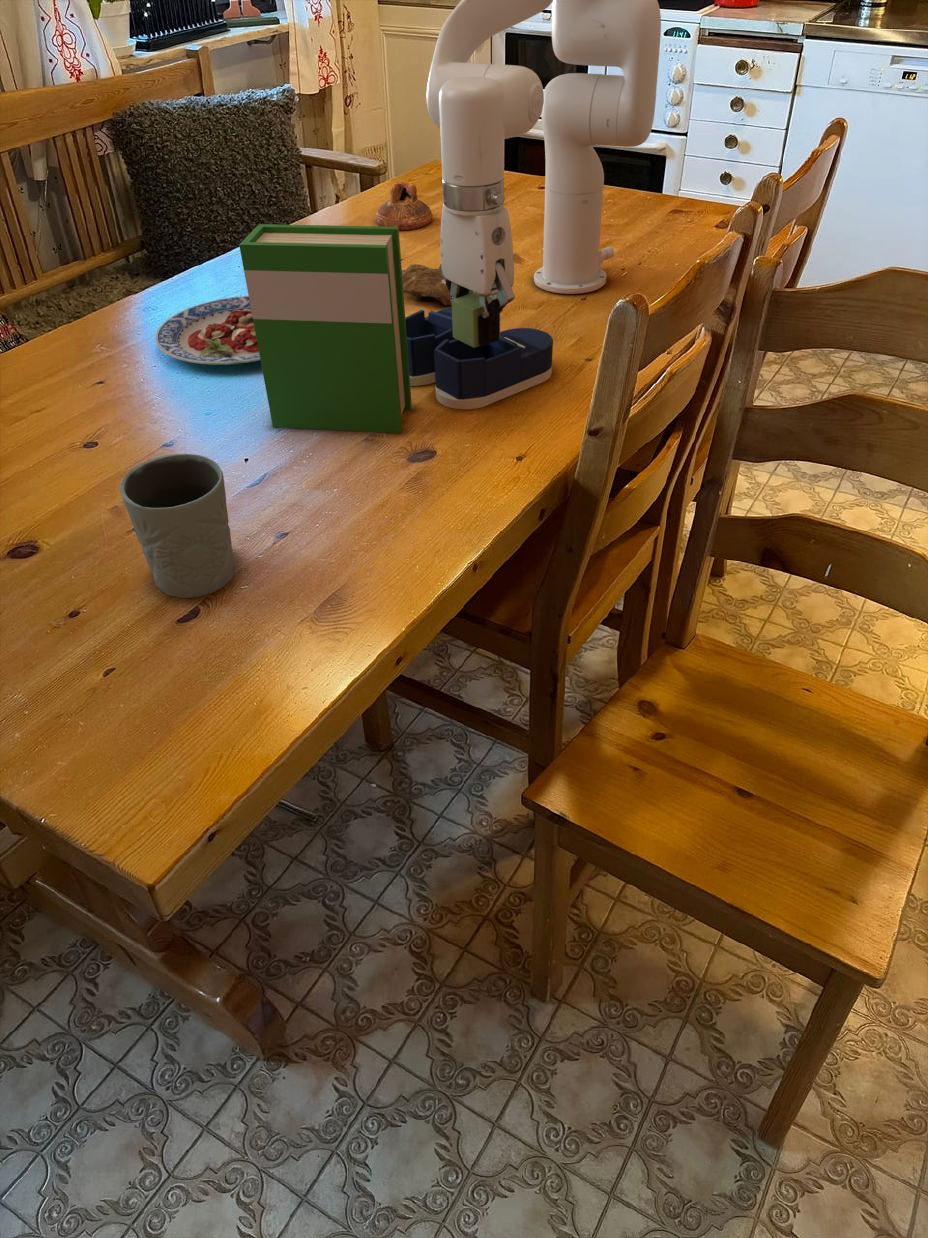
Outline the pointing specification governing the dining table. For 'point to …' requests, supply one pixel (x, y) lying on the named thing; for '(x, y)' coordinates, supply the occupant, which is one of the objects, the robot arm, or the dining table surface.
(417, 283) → the decorative rock
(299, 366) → the hardback book
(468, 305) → the green block
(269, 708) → the dining table surface
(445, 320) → the sneaker
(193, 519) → the grey embossed cup
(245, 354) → the ceramic plate
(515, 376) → the sneaker
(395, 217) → the bell
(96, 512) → the dining table surface
